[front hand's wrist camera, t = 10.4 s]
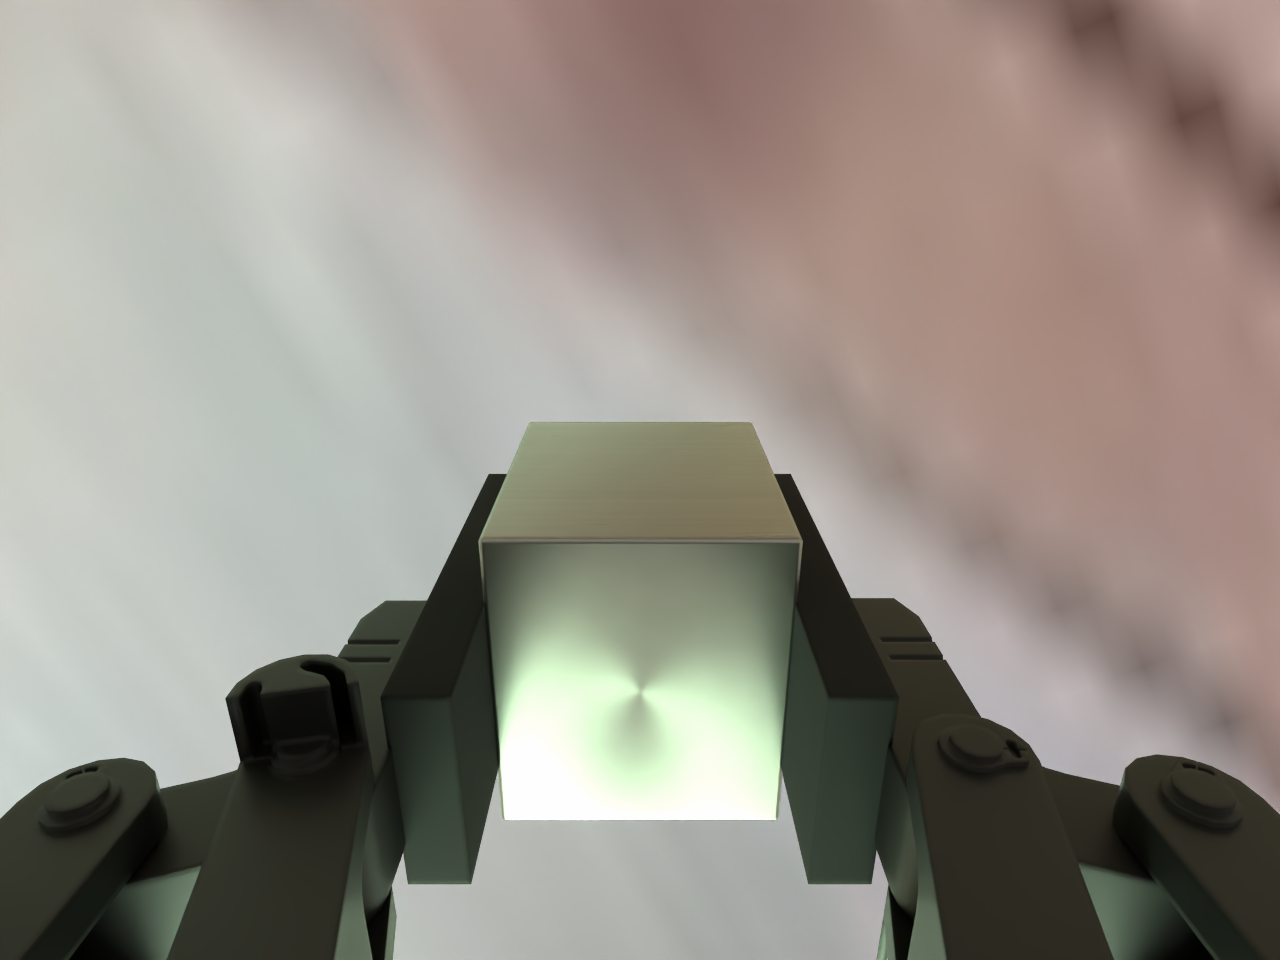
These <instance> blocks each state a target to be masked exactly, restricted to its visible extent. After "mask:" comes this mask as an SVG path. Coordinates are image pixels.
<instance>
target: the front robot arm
mask: <svg viewBox="0 0 1280 960" xmlns="http://www.w3.org/2000/svg"><path fill="white" fill-rule="evenodd" d="M506 476H507V474H489V475H488V477H487V479H486V481H485V483H484V485H483V487H482V489H481V491H480V493H479V495H478V497H477V500H476V502H475V504H474V506H473V508H472V510H471V512H470V514H469V516H468V518H467V520H466V522H465V524H464V526H463V528H462V530H461V532H460V534H459V536H458V538H457V541H456V543H455V545H454V547H453V549H452V551H451V553H450V555H449V557H448V559H447V561H446V563H445V565H444V567H443V569H442V571H441V573H440V575H439V577H438V580H437V582H436V584H435V586H434V588H433V590H432V592H431V594H430V596H429V598H428V600H427V601H385V602H383V603H382V604H381V605H379V606H378V607H377V608H375V609H374V610H373V611H371V612H370V613H369V614H367V615H366V616H364V617H363V618H362V619H361V620H360V621H359V623H358V625H357V626H356V628H355V630H354V631H353V633H352V635H351V636H350V638H349V639H348V645H345V646H344V648H343V649H342V651H341V652H340V654H339V656H338V657H335V656H331V655H301V656H296V657H291V658H286V659H282V660H278V661H276V662H274V663H271V664H269V665H266V666H264V667H262V668H259V669H257V670H255V671H254V672H252V673H251V674H249V675H248V676H247V677H245V678H244V679H242V680H241V681H239V682H238V683H237V684H236V685H235V686H234V688H233V689H232V690H231V692H230V693H229V694H228V696H227V697H226V698H225V699H226V703H227V707H228V711H229V715H230V720H231V724H232V728H233V732H234V736H235V741H236V745H237V749H238V753H239V757H240V764H239V767H238V770H236V771H233V772H229V773H226V774H223V775H219V776H216V777H212V778H207V779H203V780H198V781H194V782H190V783H185V784H181V785H176V786H172V787H167V788H163V789H160V787H159V784H158V780H157V777H156V773H155V771H154V770H153V769H151V768H150V767H149V766H148V765H147V764H146V763H145V762H143V761H137V760H132V759H127V758H117V759H108V760H98V761H95V762H92V763H88V764H85V765H82V766H78V767H76V768H72V769H69V770H67V771H65V772H63V773H61V774H59V775H57V776H55V777H53V778H52V779H50V780H48V781H46V782H44V783H42V784H40V785H39V786H38V787H36V788H35V789H34V790H32V791H31V792H30V793H29V794H27V795H26V796H25V797H23V798H22V799H21V800H20V801H18V802H17V803H16V804H15V805H14V806H13V807H12V808H11V809H10V810H9V811H8V812H7V813H6V814H5V815H4V816H3V817H2V818H1V819H0V960H393V949H394V938H395V927H396V911H395V904H394V898H393V891H392V883H393V880H394V877H395V874H396V871H397V868H398V865H399V863H400V860H401V857H402V854H403V853H404V860H405V867H406V874H407V880H408V884H471V882H472V878H473V873H474V869H475V865H476V861H477V856H478V852H479V848H480V844H481V839H482V835H483V831H484V826H485V822H486V818H487V814H488V809H489V805H490V801H491V797H492V792H493V788H494V784H495V780H496V775H497V771H498V759H497V747H496V735H495V723H494V711H493V700H492V688H491V676H490V664H489V652H488V641H487V629H486V617H485V605H484V600H483V588H482V577H481V565H480V553H479V539H480V536H481V534H482V531H483V529H484V527H485V524H486V522H487V520H488V517H489V515H490V513H491V511H492V508H493V506H494V504H495V501H496V499H497V497H498V494H499V492H500V490H501V487H502V485H503V483H504V480H505V478H506ZM774 476H775V478H776V480H777V482H778V485H779V487H780V489H781V492H782V494H783V496H784V499H785V501H786V503H787V506H788V508H789V510H790V513H791V515H792V517H793V519H794V522H795V524H796V526H797V529H798V531H799V533H800V536H801V538H802V541H803V544H802V556H801V568H800V579H799V591H798V601H797V603H795V615H794V626H793V638H792V650H791V662H790V673H789V685H788V697H787V709H786V720H785V732H784V744H783V756H782V768H781V769H782V773H783V777H784V782H785V786H786V790H787V794H788V799H789V803H790V807H791V812H792V816H793V820H794V824H795V829H796V833H797V837H798V841H799V846H800V850H801V854H802V859H803V863H804V867H805V871H806V876H807V880H808V884H871V883H872V877H873V870H874V863H875V857H876V850H877V852H878V854H879V857H880V860H881V863H882V866H883V869H884V872H885V875H886V878H887V881H888V883H889V885H888V891H887V898H886V904H885V910H884V916H883V923H882V929H881V935H880V941H879V948H878V954H877V960H887V959H888V960H1280V815H1279V814H1278V813H1277V812H1276V811H1275V810H1274V809H1273V808H1272V807H1271V806H1270V805H1269V804H1268V803H1267V802H1266V801H1265V800H1264V799H1263V798H1262V797H1260V796H1259V795H1258V794H1256V793H1255V792H1254V791H1253V790H1251V789H1250V788H1249V787H1247V786H1246V785H1245V784H1243V783H1242V782H1241V781H1240V780H1238V779H1236V778H1234V777H1232V776H1230V775H1228V774H1226V773H1224V772H1222V771H1220V770H1218V769H1216V768H1214V767H1212V766H1209V765H1206V764H1203V763H1201V762H1196V761H1194V760H1190V759H1187V758H1184V757H1176V756H1166V755H1152V756H1146V757H1141V758H1137V759H1135V760H1134V761H1133V762H1132V763H1131V764H1130V765H1129V766H1127V767H1126V768H1125V771H1124V775H1123V778H1122V781H1121V785H1120V786H1118V785H1114V784H1109V783H1105V782H1100V781H1096V780H1091V779H1087V778H1082V777H1078V776H1073V775H1069V774H1065V773H1061V772H1058V771H1054V770H1051V769H1048V768H1045V767H1042V766H1041V763H1040V761H1039V759H1038V758H1037V756H1036V754H1035V753H1034V751H1033V750H1032V748H1031V747H1030V745H1029V744H1028V743H1026V742H1025V741H1024V740H1023V739H1021V738H1020V737H1019V736H1018V735H1016V734H1015V733H1014V732H1013V731H1011V730H1010V729H1008V728H1005V727H1003V726H1001V725H999V724H997V723H995V722H993V721H991V720H988V719H985V718H981V716H980V715H979V713H978V712H977V710H976V708H975V707H974V705H973V703H972V702H971V700H970V699H969V697H968V695H967V694H966V692H965V691H964V689H963V687H962V686H961V684H960V682H959V681H958V679H957V678H956V676H955V674H954V673H953V671H952V669H951V668H950V666H949V665H948V663H947V661H946V660H943V655H942V653H941V652H940V650H939V648H938V647H937V645H936V644H935V642H932V637H931V635H930V634H929V632H928V631H927V629H926V627H925V626H924V624H923V623H922V621H921V619H920V618H919V616H917V615H916V614H915V613H913V612H912V611H911V610H909V609H908V608H906V607H905V606H904V605H902V604H901V603H900V602H898V601H897V600H895V599H894V598H851V597H850V595H849V593H848V591H847V589H846V587H845V585H844V583H843V581H842V579H841V577H840V574H839V572H838V570H837V568H836V566H835V564H834V562H833V560H832V558H831V556H830V554H829V552H828V550H827V548H826V546H825V544H824V542H823V540H822V538H821V535H820V533H819V531H818V529H817V527H816V525H815V523H814V521H813V519H812V517H811V515H810V513H809V511H808V509H807V507H806V505H805V503H804V501H803V499H802V496H801V494H800V492H799V490H798V488H797V486H796V484H795V482H794V480H793V478H792V476H791V474H774Z"/></svg>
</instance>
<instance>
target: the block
mask: <svg viewBox="0 0 1280 960" xmlns="http://www.w3.org/2000/svg"><path fill="white" fill-rule="evenodd" d="M802 544H803V541H802V538H801V536H800V533H799V531H798V529H797V526H796V524H795V522H794V519H793V517H792V515H791V513H790V510H789V508H788V506H787V503H786V501H785V499H784V496H783V494H782V492H781V489H780V487H779V485H778V482H777V480H776V478H775V476H774V473H773V471H772V469H771V466H770V464H769V462H768V459H767V457H766V455H765V452H764V450H763V448H762V446H761V443H760V441H759V439H758V436H757V434H756V432H755V429H754V427H753V425H752V423H750V422H531V423H529V424H528V427H527V429H526V431H525V434H524V436H523V438H522V441H521V443H520V445H519V448H518V450H517V452H516V455H515V457H514V459H513V462H512V464H511V466H510V469H509V471H508V473H507V476H506V478H505V480H504V483H503V485H502V487H501V490H500V492H499V494H498V497H497V499H496V501H495V504H494V506H493V508H492V511H491V513H490V515H489V517H488V520H487V522H486V524H485V527H484V529H483V531H482V534H481V536H480V539H479V553H480V565H481V577H482V588H483V600H484V605H485V617H486V629H487V641H488V652H489V664H490V676H491V688H492V700H493V711H494V723H495V735H496V747H497V759H498V777H499V789H500V801H501V812H502V817H503V819H505V820H776V819H778V816H779V810H780V798H781V787H782V775H783V773H782V769H781V768H782V756H783V744H784V732H785V720H786V709H787V697H788V685H789V673H790V662H791V650H792V638H793V626H794V615H795V603H797V601H798V591H799V579H800V568H801V556H802Z"/></svg>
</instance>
